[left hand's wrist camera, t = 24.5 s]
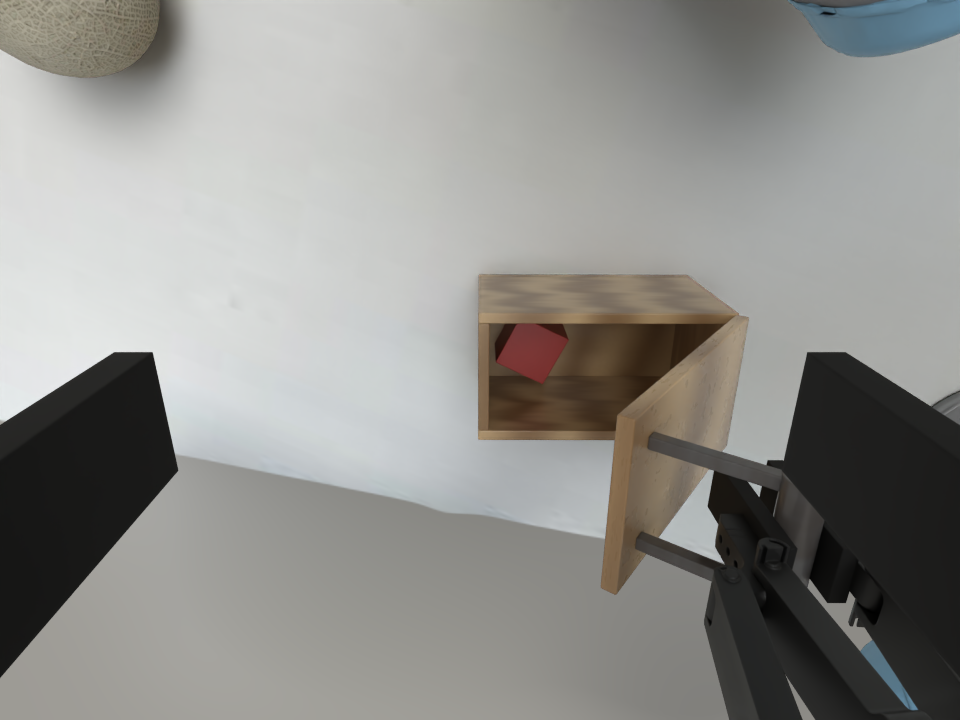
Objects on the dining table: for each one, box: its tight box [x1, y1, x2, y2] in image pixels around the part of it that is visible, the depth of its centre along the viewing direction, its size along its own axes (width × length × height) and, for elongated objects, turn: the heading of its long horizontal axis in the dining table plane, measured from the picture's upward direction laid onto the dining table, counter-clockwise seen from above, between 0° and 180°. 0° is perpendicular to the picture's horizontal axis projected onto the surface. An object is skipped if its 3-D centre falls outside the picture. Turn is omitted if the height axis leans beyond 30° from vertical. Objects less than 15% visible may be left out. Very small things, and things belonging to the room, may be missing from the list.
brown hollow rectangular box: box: [478, 275, 739, 440], centre depth 47 cm, size 17×10×11 cm, turn 90°
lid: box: [601, 315, 825, 595], centre depth 32 cm, size 18×10×8 cm
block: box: [495, 324, 569, 384], centre depth 49 cm, size 4×4×4 cm
